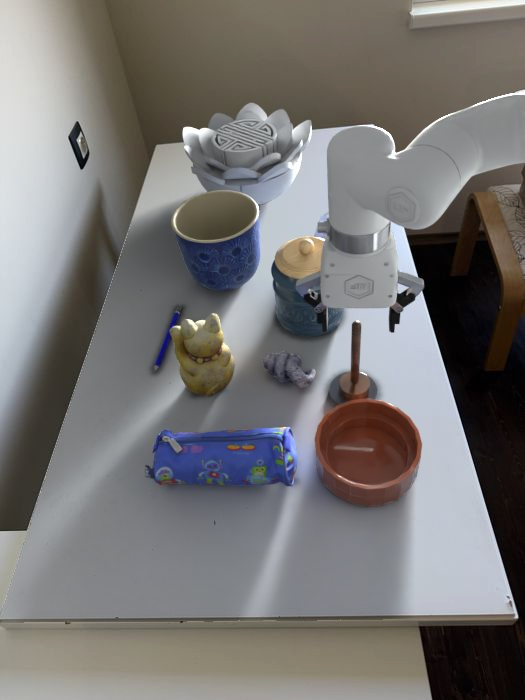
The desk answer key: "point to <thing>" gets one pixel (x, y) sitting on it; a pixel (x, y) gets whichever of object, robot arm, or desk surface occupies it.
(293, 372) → the seashell
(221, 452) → the pencil case
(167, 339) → the pencil
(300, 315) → the canister
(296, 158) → the decorative bowl
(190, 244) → the planter
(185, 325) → the decorative figurine
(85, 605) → the desk surface
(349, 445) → the mixing bowl
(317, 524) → the desk surface
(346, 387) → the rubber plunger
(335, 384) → the grey round base
